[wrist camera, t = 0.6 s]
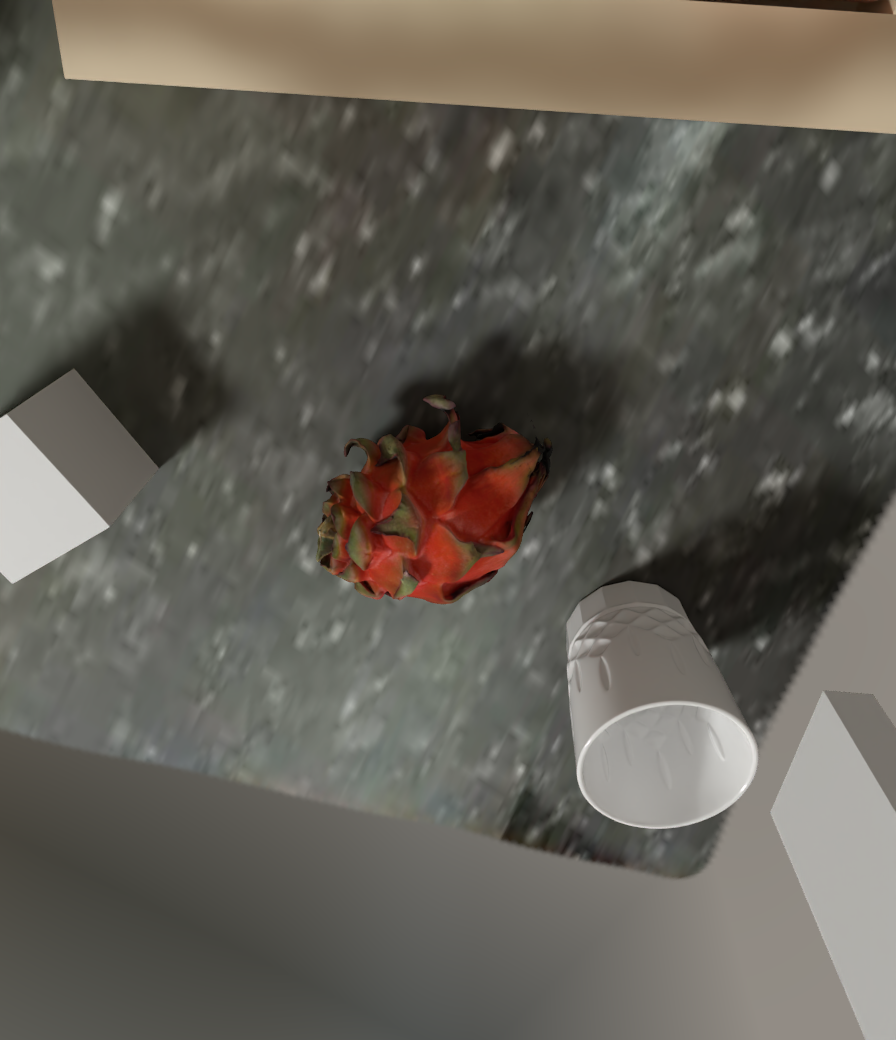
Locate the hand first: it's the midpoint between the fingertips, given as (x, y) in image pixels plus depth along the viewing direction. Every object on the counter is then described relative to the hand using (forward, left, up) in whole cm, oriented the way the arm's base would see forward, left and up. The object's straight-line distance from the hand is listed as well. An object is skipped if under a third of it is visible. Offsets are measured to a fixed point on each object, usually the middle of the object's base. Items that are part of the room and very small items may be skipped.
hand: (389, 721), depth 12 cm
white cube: (+8, -18, -25) cm, 32 cm away
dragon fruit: (+8, 0, -25) cm, 27 cm away
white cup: (+17, +11, -25) cm, 32 cm away
